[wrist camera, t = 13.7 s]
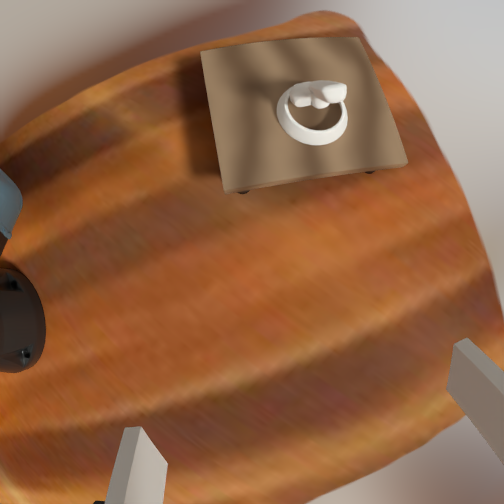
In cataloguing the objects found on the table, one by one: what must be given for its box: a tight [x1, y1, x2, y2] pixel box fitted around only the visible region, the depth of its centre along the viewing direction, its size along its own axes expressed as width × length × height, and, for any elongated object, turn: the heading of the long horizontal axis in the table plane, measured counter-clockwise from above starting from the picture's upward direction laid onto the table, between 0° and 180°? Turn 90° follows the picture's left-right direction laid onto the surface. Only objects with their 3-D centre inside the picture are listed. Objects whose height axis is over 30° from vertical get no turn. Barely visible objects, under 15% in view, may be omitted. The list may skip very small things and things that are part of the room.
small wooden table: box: [200, 37, 408, 194], centre depth 35 cm, size 20×18×6 cm
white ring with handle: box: [277, 80, 348, 145], centre depth 28 cm, size 8×12×7 cm
